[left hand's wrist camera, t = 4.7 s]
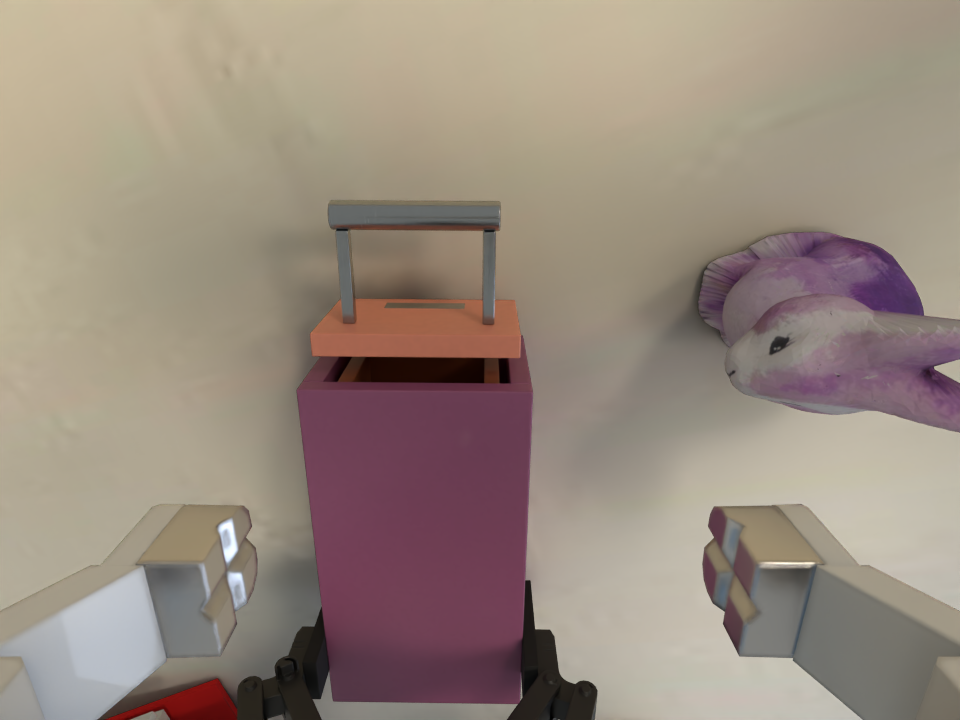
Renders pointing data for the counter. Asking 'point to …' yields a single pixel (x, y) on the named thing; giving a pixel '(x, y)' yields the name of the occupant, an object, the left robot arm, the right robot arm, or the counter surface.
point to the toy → (187, 705)
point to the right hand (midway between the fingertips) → (431, 595)
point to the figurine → (831, 329)
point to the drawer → (417, 305)
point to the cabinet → (420, 532)
